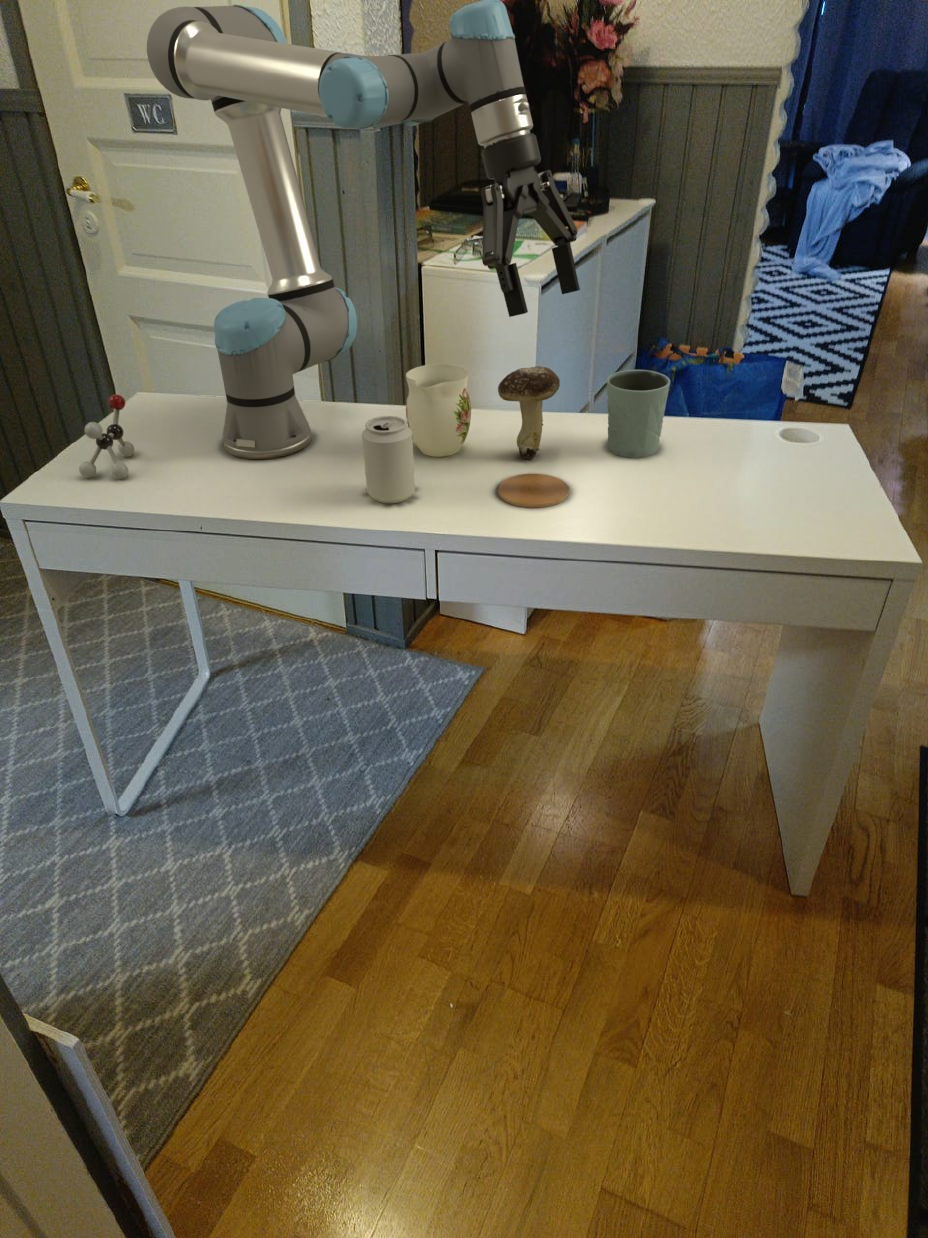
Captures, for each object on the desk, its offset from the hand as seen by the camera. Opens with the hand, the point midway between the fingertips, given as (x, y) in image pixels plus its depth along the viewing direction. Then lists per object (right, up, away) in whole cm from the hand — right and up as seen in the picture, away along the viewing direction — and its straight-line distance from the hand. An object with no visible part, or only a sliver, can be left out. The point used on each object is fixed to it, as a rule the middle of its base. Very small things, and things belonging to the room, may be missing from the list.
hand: (545, 303), depth 125 cm
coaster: (-1, -25, +13) cm, 28 cm away
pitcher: (-16, -15, +28) cm, 35 cm away
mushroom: (-1, -18, +24) cm, 30 cm away
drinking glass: (+17, -16, +26) cm, 35 cm away
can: (-23, -25, +13) cm, 37 cm away
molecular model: (-70, -19, +25) cm, 77 cm away
